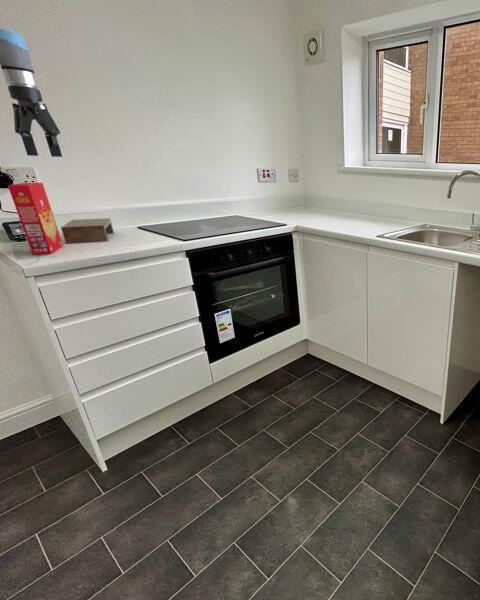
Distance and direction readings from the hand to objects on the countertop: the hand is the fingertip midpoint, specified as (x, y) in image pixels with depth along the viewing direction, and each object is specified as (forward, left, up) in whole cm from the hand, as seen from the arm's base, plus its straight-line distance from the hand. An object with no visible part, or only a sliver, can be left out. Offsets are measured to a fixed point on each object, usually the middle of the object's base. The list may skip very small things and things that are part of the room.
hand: (44, 156), depth 123 cm
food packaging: (-9, +8, -35) cm, 37 cm away
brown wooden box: (+1, +31, -35) cm, 47 cm away
